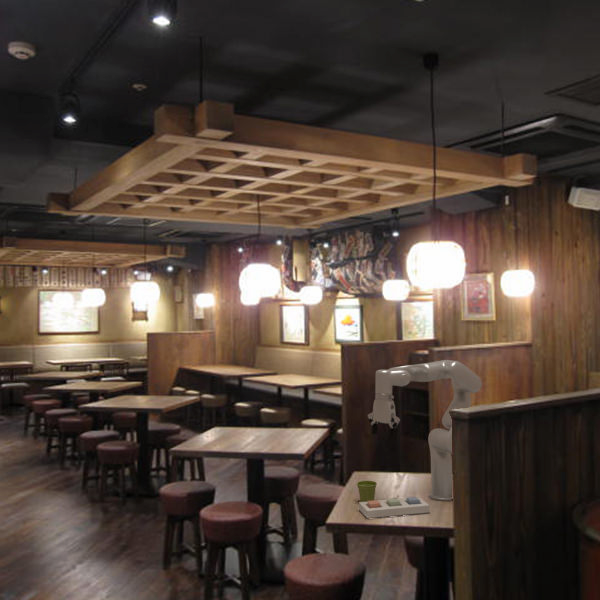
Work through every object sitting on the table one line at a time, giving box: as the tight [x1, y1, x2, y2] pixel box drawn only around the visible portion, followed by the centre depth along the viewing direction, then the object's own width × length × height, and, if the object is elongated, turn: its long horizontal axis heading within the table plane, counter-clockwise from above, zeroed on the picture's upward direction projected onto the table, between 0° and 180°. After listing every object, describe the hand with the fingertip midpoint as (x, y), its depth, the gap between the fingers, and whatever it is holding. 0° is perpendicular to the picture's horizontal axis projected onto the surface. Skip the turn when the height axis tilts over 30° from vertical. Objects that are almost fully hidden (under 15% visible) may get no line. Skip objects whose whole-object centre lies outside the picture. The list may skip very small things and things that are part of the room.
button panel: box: [358, 496, 431, 520], centre depth 260 cm, size 28×12×4 cm, turn 101°
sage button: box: [386, 498, 400, 507], centre depth 260 cm, size 4×4×3 cm
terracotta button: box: [367, 499, 380, 508], centre depth 258 cm, size 4×4×3 cm
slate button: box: [406, 496, 421, 505], centre depth 262 cm, size 4×4×3 cm
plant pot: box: [356, 480, 378, 502], centre depth 274 cm, size 9×9×9 cm
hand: (383, 435), depth 269 cm, fingers open, 9 cm apart
